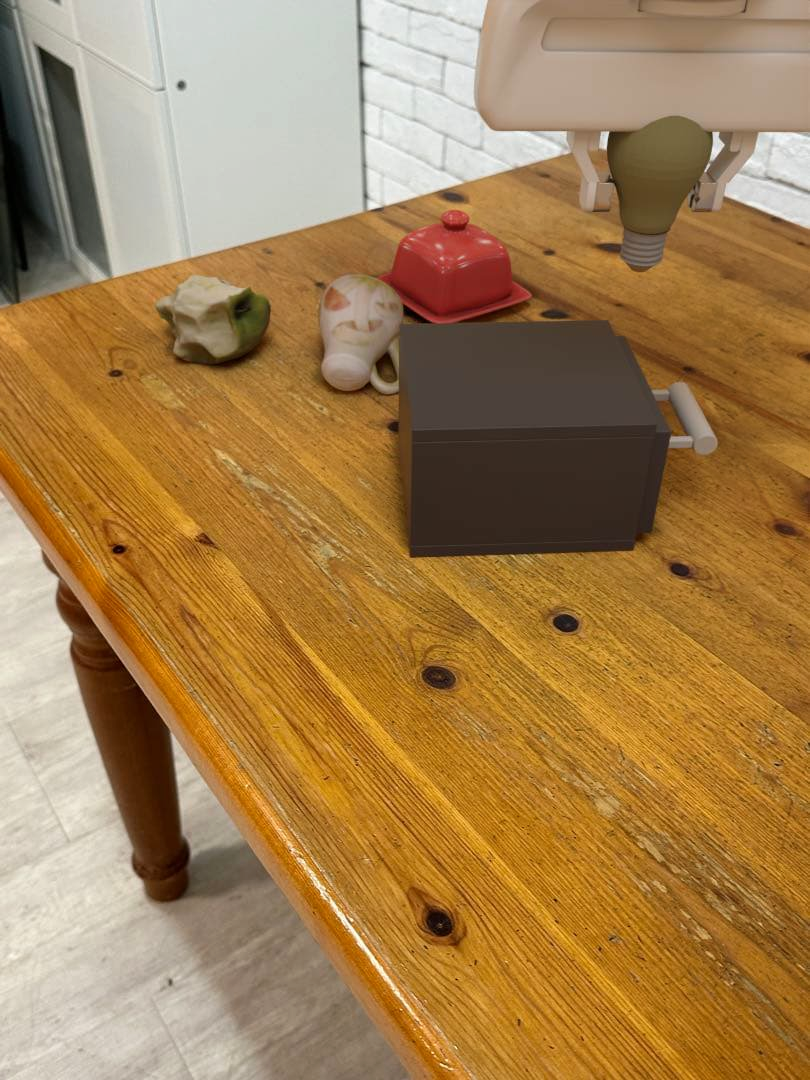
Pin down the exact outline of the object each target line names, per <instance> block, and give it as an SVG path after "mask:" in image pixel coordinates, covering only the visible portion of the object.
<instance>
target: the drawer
mask: <svg viewBox="0 0 810 1080" xmlns="http://www.w3.org/2000/svg"><path fill="white" fill-rule="evenodd" d="M616 337H617V339H618V342H619V344H620V346H621V348H622V350H623V352H624V354H625V357H626V359H627V361H628V363H629V365H630V367H631V369H632V372H633V374H634V376H635V378H636V380H637V382H638V384H639V386H640V389H641V391H642V393H643V395H644V397H645V399H646V401H647V404H648V406H649V408H650V410H651V412H652V414H653V416H654V419H655V421H656V423H657V428H656V433H655V438H654V443H653V449H652V454H651V459H650V465H649V470H648V475H647V481H646V486H645V491H644V497H643V502H642V507H641V513H640V518H639V523H638V529H637V534H651V533H652V532H653V527H654V521H655V517H656V512H657V507H658V502H659V497H660V491H661V486H662V481H663V477H664V472H665V467H666V462H667V456H668V450H669V449H693V451H694V453H695V454H697V455H699V456H708V455H711V454H712V453H714V452H715V451H716V449H717V448H718V443H719V441H718V439H717V436H716V435H715V433H714V431H713V429H712V427H711V426H710V424H709V422H708V420H707V418H706V416H705V415H704V412H703V411H702V408H701V407H700V405H699V403H698V402H697V400H696V397H695V396H694V394H693V392H692V390H691V388H690V387H689V385H688V384H687V383H686V382H684V381H676V382H673V383H672V384H670V385H669V386H668V388H667V389H651V387H650V384H649V382H648V381H647V377H646V375H645V374H644V371H643V369H642V368H641V366H640V364H639V361H638V359H637V357H636V355H635V353H634V351H633V349H632V347H631V344H630V343H629V341H628V339H627V337H626V335H616ZM664 401H665V402H669V403H670V405H671V408H672V410H673V412H674V414H675V416H676V417H677V420H678V421H679V423H680V426H681V428H682V429H683V431H684V434H685V435H677V436H676V435H675V436H674V435H673V436H672V430H671V427H670V425H669V424H668V421H667V418H666V417H665V415H664V413H663V410H662V409H661V407H660V404H659V403H658V402H664Z"/></svg>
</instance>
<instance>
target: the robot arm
mask: <svg viewBox="0 0 810 1080" xmlns="http://www.w3.org/2000/svg"><path fill="white" fill-rule="evenodd" d="M473 80H474V81H473V101H474V102H473V103H474V106H475V109H476V112H477V113H478V115H479V117H480V118H481V120H483V122H484V123H485V125H486V126H487V127H488V128H489V129H490V130H492V131H495V132H566V137H565V140H566V142H567V145H568V147H569V149H570V151H571V154H572V156H573V158H574V160H575V163H576V165H577V167H578V170H579V172H580V174H581V179H580V187H579V196H578V197H579V200H578V201H579V206H580V209H581V211H582V212H583V213H610V211H611V209H612V201H611V198H612V196H613V195H614V189H615V185H614V181H613V179H612V177H611V173H610V172H608V171H597V170H596V169H595V166H594V165H593V162H592V160H591V157H590V155H589V153H588V152H598V151H599V149H600V142H601V136H602V132H603V133H604V132H605V133H607V132H608V133H609V132H633V131H637V130H640V129H641V128H643V127H645V126H646V125H648V124H649V123H651V122H653V121H656V120H658V119H661V118H664V117H668V116H682V117H685V118H688V119H690V120H692V121H694V122H696V123H698V124H699V125H700V126H701V128H702V129H703V130H705V131H707V132H713V133H718V139H719V140H720V141H721V142H722V144H723V145H724V146H723V147H722V148H721V150H720V151H719V152H718V154H717V155H716V156H715V158H714V159H713V160H712V162H711V164H709V166H708V167H707V168H706V169H705V171H704V173H703V174H702V176H701V178H700V179H699V181H698V182H697V183H696V185H695V186H694V188H693V189H692V190H691V192H690V193H689V194H688V196H687V197H686V204H687V206H688V208H690V211H691V212H692V213H719V212H720V211H721V210H722V206H723V201H724V197H725V191H726V187H727V184H729V183H730V182H731V181H732V180H733V179H734V177H735V176H736V175H737V174H738V172H740V170H741V169H742V168H743V166H744V165H745V164H746V163H747V162H748V161H749V159H751V157H752V156H753V155H754V153H755V150H756V145H757V141H758V136H759V133H810V0H487V3H486V5H485V10H484V14H483V18H482V25H481V29H480V35H479V41H478V46H477V53H476V59H475V70H474V79H473Z"/></svg>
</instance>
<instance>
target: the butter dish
mask: <svg viewBox="0 0 810 1080" xmlns="http://www.w3.org/2000/svg"><path fill="white" fill-rule="evenodd" d="M440 221H441V222H438V223H433V224H429V225H425V226H423V227H420V228H418V229H415V230H413V231H411V232H409V233H408V234H406V235H405V236H404V237H402V238H401V240H400V241H399V243H398V245H397V249H396V253H395V256H394V260H393V264H392V269H391V271H390V272H388V273H385V274H382V275H379V276H377V277H376V278H377V279H379V280H381V281H383V282H384V283H386V284H387V285H389V286H390V287H391V288H392V289H393V290H394V291H395V292H396V293H397V294H398V296H399V297H400V299H401V301H402V304H403V306H406V307H407V308H408V309H410V310H411V311H413V312H414V313H416V314H418V315H419V316H420V317H421V318H422V319H425V320H426V321H428V322H429V323H461V322H463V321H466V320H469V319H470V320H471V319H473V318H476V317H479V316H483V315H486V314H490V313H493V312H496V311H499V310H503V309H505V308H509V307H511V306H514V305H518V304H521V303H524V302H526V301H528V300H530V299H531V298H532V297H533V295H532V293H531V292H530V291H529V290H527V289H526V288H524V287H523V286H522V285H520V284H518V283H517V282H515V281H513V273H512V272H513V271H512V265H511V264H512V263H511V258H510V254H509V251H508V248H506V246H505V245H504V244H503V243H502V242H501V240H499V239H498V238H497V237H496V236H494V235H493V234H492V233H490V232H489V231H487V230H486V229H484V228H482V227H480V226H477V225H475V224H473V223H471V222H470V216H469V214H467V212H464V211H462V210H460V209H450V210H446V211H444V212H443V213H442V214H441V216H440Z"/></svg>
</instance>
